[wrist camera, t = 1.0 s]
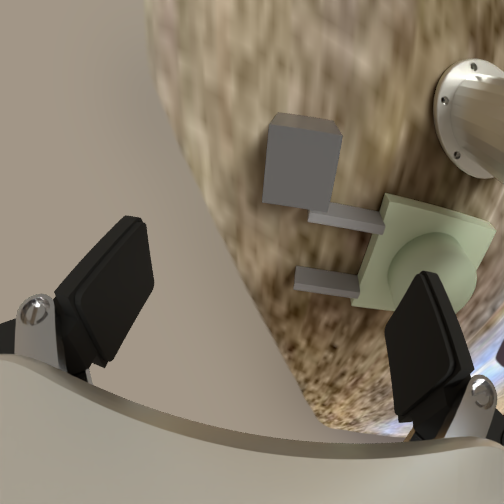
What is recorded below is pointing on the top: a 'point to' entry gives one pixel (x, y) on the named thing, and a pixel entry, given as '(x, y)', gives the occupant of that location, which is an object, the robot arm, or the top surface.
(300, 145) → the grey rectangular block
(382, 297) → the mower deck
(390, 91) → the top surface
